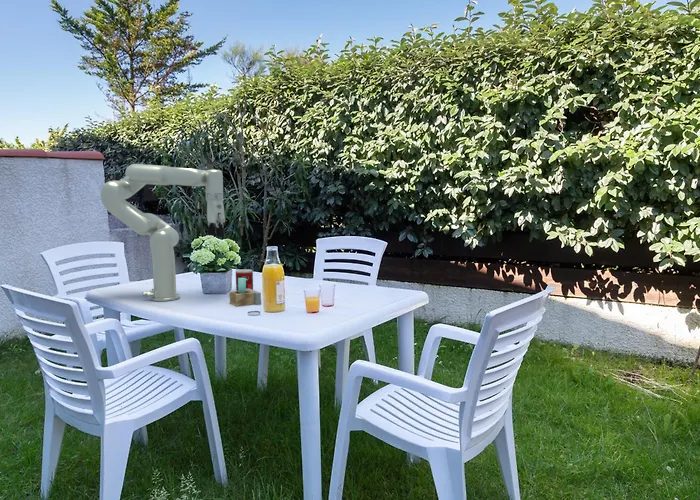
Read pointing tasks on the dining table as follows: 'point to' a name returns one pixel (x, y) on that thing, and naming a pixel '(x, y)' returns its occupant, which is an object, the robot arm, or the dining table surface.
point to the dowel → (241, 285)
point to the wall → (256, 296)
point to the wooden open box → (242, 298)
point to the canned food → (245, 274)
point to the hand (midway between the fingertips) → (215, 235)
